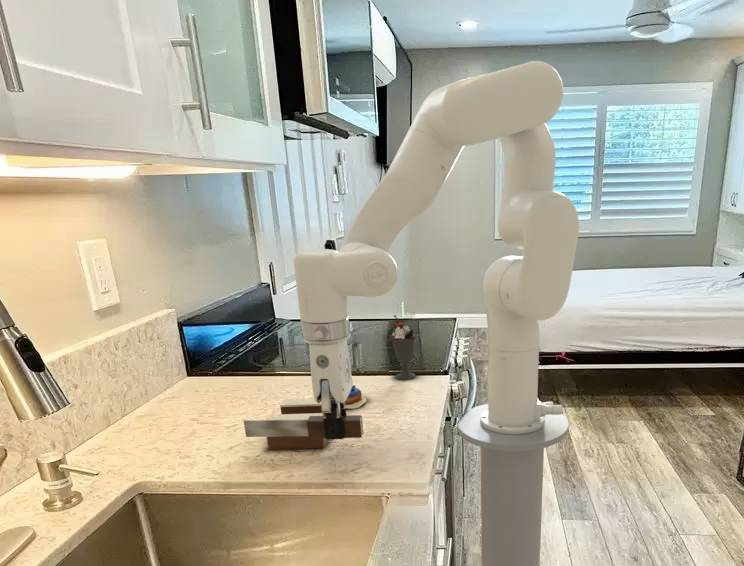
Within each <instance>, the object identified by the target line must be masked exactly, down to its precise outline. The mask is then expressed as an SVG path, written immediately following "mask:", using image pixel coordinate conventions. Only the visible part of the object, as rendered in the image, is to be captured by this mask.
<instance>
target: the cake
mask: <svg viewBox="0 0 744 566" xmlns="http://www.w3.org/2000/svg"><path fill="white" fill-rule="evenodd" d="M310 416H323V413H311V414H279V413H277V414H273V415H271V418H270V419H269V420H305V419H309V417H310ZM266 441H267V447H268V450H295V449H296V450H300V449H301V450H302V449H324V448H325V446H326V444H327V442H328V441H329V439H326V438H310V439H309V436H281V437H266Z"/></svg>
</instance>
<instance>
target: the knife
mask: <svg viewBox="0 0 744 566" xmlns="http://www.w3.org/2000/svg"><path fill="white" fill-rule="evenodd" d="M343 424H344V435H345V437H344V439H362V437H363V434H364V423H363V415H361V414H360V415H359V414H357V415H356V414H355V415H350V414H349V415H346V416H343ZM243 426H244V432H245V437H246V438H265V437H266V438H267V437H281V436H309V439H310V438H325V431H324V422H323V416H310V417H309V419H305V420H270V419H253V420H251V419H249V420H248V419H246V420H245V419H244V420H243Z"/></svg>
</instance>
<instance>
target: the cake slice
mask: <svg viewBox="0 0 744 566" xmlns="http://www.w3.org/2000/svg"><path fill="white" fill-rule="evenodd" d="M279 406H280V413H281V414H311V413H322V403H321V402H320V403H317V402H316V401H315V399H314V397H306V398H305V397H303V398H284V399H283V400H282V402H281V404H280V405H279Z"/></svg>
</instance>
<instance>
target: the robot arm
mask: <svg viewBox="0 0 744 566" xmlns="http://www.w3.org/2000/svg"><path fill="white" fill-rule="evenodd" d="M563 99H564V85H563V80H562V78H561V75H560V74H559V72H558V71H557V69H556V68H554V67H553V66H552V65H551V64H549V63H548V62H545V61H543V60H531V61H527V62H524V63H521V64H517V65H514V66H510V67H507V68H503V69H500V70H497V71H493V72H489V73H485V74H481V75H476V76H472V77H467V78H464V79H459V80H456V81H454V82H451V83H449V84H446V85H444V86H441V87H439V88H437V89H434V90H433V91H431V92H430V94H428V96H427V97H425V99H424V100H423V102H422V104H421V106H420V107H419V109H418V111H417V113H416V115H415V117H414V119H413V121H412V123H411V125H410V126H409V128H408V130H407V133H406V135H405V137H404V138H403V140H402V142H401V144H400V146H399V147H398V150H397V152H396V154H395V155H394V158H393V160H392V162H391V163H390V165H389V167H388V169H387V170H386V173H385V174H384V175H383V178H381V180H380V182H379V183H378V184H377V186H376V187H374V188H375V189H374V190H373V192H372V193H371V195H369V198H368V199H367V200H366V201H365V203H364V204H363V206H362V207H361V209H360V211H358V214H357V215H356V217H355V219H354V221H353V222H352V224H351V226H350V228H349V230H348V232H347V233H346V235H345V238H344V240H343V241H342V243H341V246H340V248H339V250H335V249H329V248H316V249H306V250H301V251H299V252H297V253H296V254H295V256H294V258H293V268H294V277H295V286H296V293H297V302H298V310H299V311H298V312H299V318H300V327H301V335H302V336H301V337H302V341H303V342H304V343H305V344H308V346H309V364H310V365H309V366H310V378H311V387H312V394H313V398H314V399H315V401H316V402H317V403H320V402H321V403H322V413H323V422H324V431H325V438H326V439H328V440H344V439H345V438H344V437H345V435H344V424H343V416H347V408H345V401H346V399H347V397H348V395H349V393H350V391H351V388H352V386H353V385H354V384H353V375H352V366H351V360H350V351H349V346H348V345H349V344H348V340H350V339H351V328H350V318H349V307H348V297H364V298H365V297H366V298H367V297H368V298H373V297H374V298H376V297H380V296H383V295H386V294H387V293H389V292H390V291H392V289H393V288H394V287H395V286H396V283H397V281H398V277H399V269H398V266H397V263H396V261H395V259H394V258H393V256H392V255H391V254H389V253H388V251H389V249H390V248H391V246H392V244H393V242H394V241H395V239H396V238H397V236H398V235H399V234H400V233H401V231H402V230H404V228H405V227H407V225H408V224H410V222H412V221H413V220H414V219H416V218H417V217H419V216H421V215H422V214H424V213H425V212H426V211H427V210H428V209H429V208H430V207H431V206H433V204H434V203H436V199H437V198H438V196H439V195H440V192H441V190H442V188H443V186H444V185H445V182H446V180H447V179H448V178H449V175H450V174H451V171H452V170H453V168H454V166H455V164H456V162H457V160H458V159H459V157H460V154H461V152H462V150H463V149H464V147H468V146H474V145H477V144H482V143H486V142H491V141H494V140H498V141H499V142H500V145H501V148H502V151H503V159H504V160H503V161H504V162H503V163H504V165H503V177H502V178H503V179H502V187H501V193H500V194H501V195H500V201H499V209H498V217H497V232H498V235H499V238H500V239H501V241H502V242H503V243H504V244H506V245H507V246H509V247H512V248H515V249H519V250H522V256H517V255H508V256H503V257H500V258H499V259H496V260H495V261H493V262H492V263H491V264H490V265H489V267H488V268H487V269H486V272H485V274H484V277H483V283H482V293H483V294H482V295H483V301H484V307H485V313H486V323H487V324H486V325H487V404H488V410H486V411H484V412H483V413H482V414H481V416H480V423H481V425H482V426H483V427H484V428H486V429H488V430H490V431H493V432H496V433H501V434H526V433H530V432H534V431H537V430H539V429H540V428H542V427H543V426H544V424H545V415H549V414H552V415H561V414H563V406H562V404H554V402H553V401H546V402H545V401H541V400H540V399H539V397H538V395H539V365H540V364H539V360H540V324H539V321H546V320H549V319H552V318H553V317H555V316H556V315H557V314H558V313H559V312H560V311H561V310H562V308H563V306H564V304H565V303H566V302H567V301H566V300H567V298H568V294H569V291H570V287H571V282H572V275H573V271H574V270H573V269H574V264H575V258H576V252H577V246H578V241H579V234H580V220H579V214H578V211H577V208H576V206H575V204H574V203H573V201H572V199H570V198H569V197H568V196H567V195H565V193H562V192H558V191H554V182H555V172H556V147H555V143H554V139H553V136H552V134H551V132H550V129H549V128H548V125H547V123H548V122H550V121H551V120H552V119H553V118H554V117H555V116H556V114H557V113H558V111H559V110H560V108H561V105H562V102H563Z"/></svg>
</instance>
